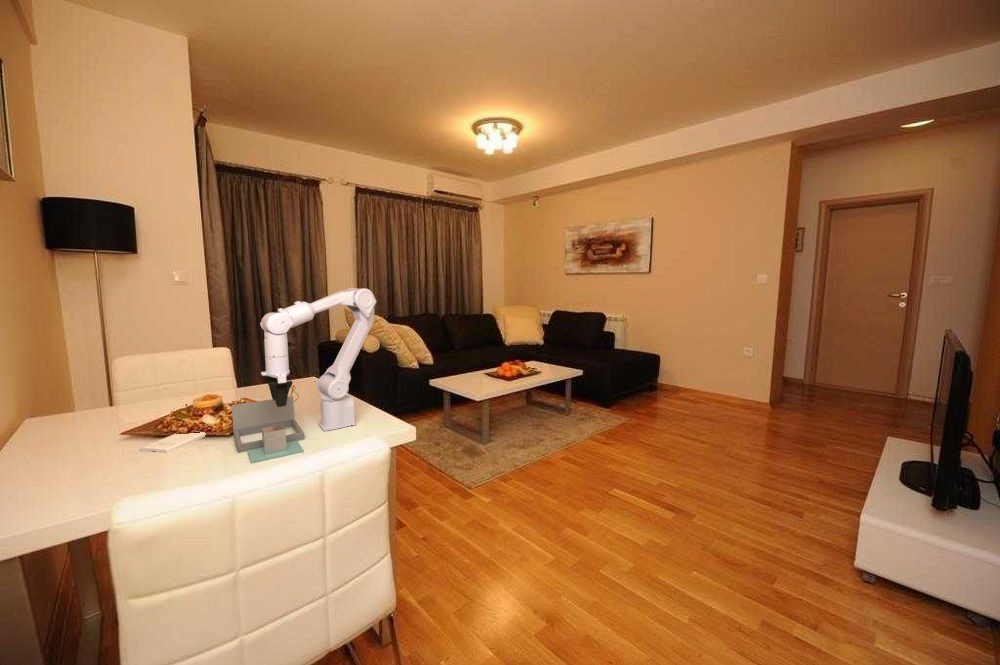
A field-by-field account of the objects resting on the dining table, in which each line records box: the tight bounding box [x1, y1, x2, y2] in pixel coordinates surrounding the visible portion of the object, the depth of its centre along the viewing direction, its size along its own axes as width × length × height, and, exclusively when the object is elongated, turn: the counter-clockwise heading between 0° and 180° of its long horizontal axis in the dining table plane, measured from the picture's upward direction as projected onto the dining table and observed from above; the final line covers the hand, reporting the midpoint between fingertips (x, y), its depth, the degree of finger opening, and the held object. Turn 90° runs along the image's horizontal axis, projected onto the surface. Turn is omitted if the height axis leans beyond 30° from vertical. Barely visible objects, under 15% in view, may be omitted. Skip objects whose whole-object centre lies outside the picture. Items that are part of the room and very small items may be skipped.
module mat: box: [246, 441, 304, 464], centre depth 109 cm, size 12×8×1 cm, turn 126°
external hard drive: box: [139, 431, 207, 454], centre depth 114 cm, size 2×8×12 cm
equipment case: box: [231, 395, 305, 454], centre depth 118 cm, size 16×15×9 cm
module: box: [261, 425, 287, 455], centre depth 108 cm, size 5×4×6 cm
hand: (279, 402), depth 117 cm, fingers open, 7 cm apart
